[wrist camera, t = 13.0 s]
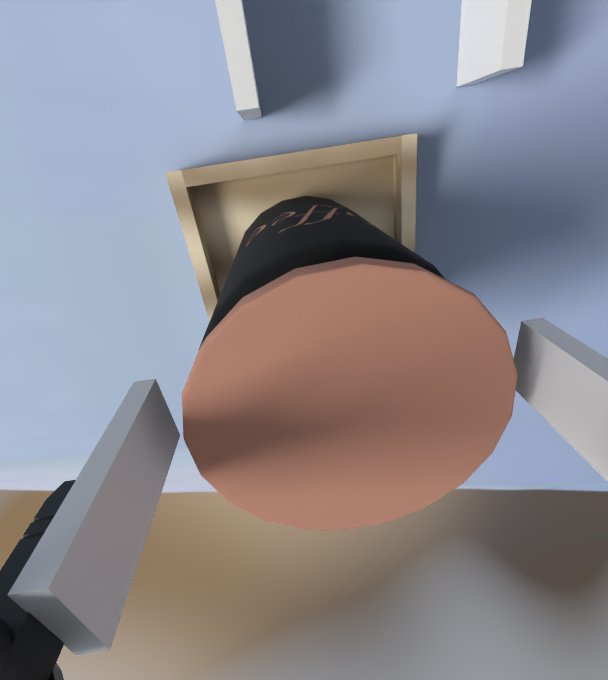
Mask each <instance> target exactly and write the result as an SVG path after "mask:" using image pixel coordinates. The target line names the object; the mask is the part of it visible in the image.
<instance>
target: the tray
mask: <svg viewBox="0 0 608 680" xmlns="http://www.w3.org/2000/svg"><path fill="white" fill-rule="evenodd" d="M165 173H166V177H167V180H168V183H169V187H170V190H171V193H172V197H173V200H174V204H175V207H176V210H177V214H178V217H179V220H180V224H181V227H182V230H183V234H184V237H185V240H186V244H187V247H188V250H189V254H190V257H191V261H192V264H193V267H194V271H195V274H196V277H197V281H198V284H199V287H200V291H201V294H202V297H203V301H204V304H205V307H206V311H207V314H208V317H209V321H210V320H211V317H212V314H213V312H214V309H215V307H216V304H217V302H218V299H219V297H220V294H221V292H222V289H223V287H224V284H225V281H226V279H227V276H228V274H229V271H230V269H231V266H232V264H233V261H234V259H235V256H236V254H237V251H238V248H239V246H240V243H241V241H242V238H243V236H244V233H245V231H246V230H247V229H248V228H249V226H250V225H251V224H252V223H253V222H254V221H255V219H256V218H257V217H258V216H259V215H260V214H261V213H262V212H264V211H265V210H267V209H269V208H270V207H272V206H274V205H275V204H277V203H279V202H281V201H283V200H288V199H293V198H297V197H302V196H312V197H319V198H326V199H331V200H333V201H335V202H337V203H339V204H341V205H343V206H344V207H346V208H348V209H350V210H352V211H353V212H355V213H356V214H358V215H359V216H361V217H362V218H364V219H365V220H367V221H368V222H370V223H371V224H373V225H374V226H376V227H377V228H379V229H380V230H382V231H383V232H384V233H386V234H387V235H389V236H390V237H392V238H393V239H395V240H396V241H398V242H399V243H401V244H402V245H404V246H405V247H407V248H408V249H410V250H411V251H413V252H414V253H415V231H416V178H417V133H415V134H408V135H402V136H396V137H389V138H383V139H376V140H370V141H364V142H357V143H351V144H344V145H338V146H332V147H325V148H319V149H312V150H306V151H300V152H293V153H287V154H280V155H274V156H268V157H261V158H255V159H248V160H242V161H236V162H229V163H223V164H216V165H210V166H204V167H197V168H191V169H184V170H178V171H172V172H165Z"/></svg>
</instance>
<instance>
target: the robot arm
mask: <svg viewBox="0 0 608 680" xmlns="http://www.w3.org/2000/svg"><path fill="white" fill-rule="evenodd" d="M514 363H515V367H516V371H517V375H518V376H517V383H516V391H517V392H518V393H519V394H520V395H521V396H522V397H523V398H524V399H525V400H526V401H527V402H528V403H529V404H530V405H531V406H532V407H533V408H534V409H535V410H536V411H537V412H538V413H539V414H540V415H541V416H542V417H543V418H544V419H545V420H546V421H547V422H548V423H549V424H550V425H551V426H552V427H553V428H554V429H555V430H556V431H557V432H558V433H559V434H560V435H561V436H562V437H563V438H564V439H565V440H566V441H567V442H568V443H569V444H570V445H571V446H572V447H573V448H574V449H575V450H576V451H577V452H578V453H579V454H580V455H581V456H582V457H583V458H584V459H585V460H586V461H587V462H588V463H589V464H590V465H591V466H592V467H593V468H594V469H595V470H596V471H597V472H598V473H599V474H600V475H601V476H602V477H603V478H604V479H605V480H606V481H607V482H608V359H607V358H606V357H604V356H602V355H601V354H599V353H598V352H596V351H594V350H593V349H591V348H590V347H588V346H586V345H585V344H583V343H582V342H580V341H578V340H577V339H575V338H574V337H572V336H571V335H569V334H567V333H566V332H564V331H563V330H561V329H559V328H558V327H556V326H555V325H553V324H551V323H550V322H548V321H547V320H545V319H543V318H540V319H533V320H527V321H521V326H520V331H519V336H518V341H517V346H516V351H515V356H514ZM179 437H180V434H179V432H178V429H177V427H176V425H175V422H174V420H173V418H172V415H171V413H170V411H169V408H168V406H167V404H166V402H165V399H164V397H163V395H162V392H161V390H160V388H159V385H158V383H157V381H156V379H151V380H145V381H139V382H134V384H133V385H132V387H131V389H130V390H129V392H128V394H127V395H126V397H125V399H124V400H123V402H122V404H121V405H120V407H119V409H118V410H117V412H116V414H115V415H114V417H113V419H112V420H111V422H110V424H109V425H108V427H107V429H106V430H105V432H104V434H103V435H102V437H101V439H100V441H99V442H98V444H97V446H96V447H95V449H94V451H93V452H92V454H91V456H90V457H89V459H88V461H87V462H86V464H85V466H84V467H83V469H82V471H81V472H80V474H79V476H78V477H77V479H76V480H71V481H65V482H64V483H63V484H62V485H60V486H59V487H58V488H57V489H56V490H55V491H54V492H53V493H52V494H51V495H50V496H49V497H48V498H47V499H46V501H45V502H44V504H43V506H42V507H41V509H40V510H39V512H38V513H37V515H36V516H35V518H34V522H32V523H31V524H30V525H29V527H28V529H27V530H26V532H25V533H24V537H23V539H21V540H20V541H19V542H18V544H17V546H16V547H15V549H14V550H13V552H12V553H11V555H10V556H9V558H8V559H7V561H6V563H5V564H4V566H3V567H2V569H1V570H0V680H64V679H63V675H62V671H61V669H60V668H59V666H58V665H57V663H56V662H57V659H58V657H59V654H60V652H61V650H62V647H63V645H65V646H66V647H67V648H68V649H69V650H71V651H72V652H73V653H74V654H75V655H82V654H88V653H95V652H101V651H107V650H110V648H111V645H112V641H113V639H114V636H115V633H116V630H117V627H118V624H119V620H120V617H121V614H122V611H123V608H124V605H125V602H126V599H127V596H128V593H129V590H130V587H131V584H132V580H133V577H134V574H135V571H136V568H137V565H138V562H139V559H140V556H141V553H142V550H143V547H144V544H145V541H146V538H147V535H148V532H149V529H150V525H151V522H152V519H153V516H154V513H155V510H156V507H157V504H158V501H159V498H160V495H161V492H162V489H163V486H164V483H165V480H166V477H167V473H168V470H169V467H170V464H171V461H172V458H173V455H174V452H175V449H176V446H177V443H178V440H179Z"/></svg>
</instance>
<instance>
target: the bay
mask: <svg viewBox="0 0 608 680" xmlns="http://www.w3.org/2000/svg"><path fill="white" fill-rule="evenodd" d="M215 2H216V7H217V12H218V17H219V22H220V28H221V33H222V38H223V43H224V48H225V53H226V59H227V64H228V69H229V74H230V79H231V85H232V90H233V95H234V100H235V105H236V110H237V112H238V113H239V115H240V116H241V117H242V118H243V120H248V119H255V118H261V117H262V115H261V109H260V103H259V97H258V91H257V84H256V78H255V72H254V66H253V60H252V54H251V48H250V42H249V36H248V30H247V24H246V18H245V12H244V6H243V0H215ZM531 2H532V0H462V5H461V21H460V37H459V54H458V70H457V86H456V87H460V86H466V85H473V84H476V83H479V82H482V81H485V80H487V79H490V78H493V77H495V76H498V75H501V74H504V73H506V72H509V71H512V70H514V69H517V68H520V67H523V61H524V54H525V46H526V39H527V32H528V24H529V17H530V9H531Z"/></svg>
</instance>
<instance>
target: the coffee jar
mask: <svg viewBox="0 0 608 680" xmlns="http://www.w3.org/2000/svg"><path fill="white" fill-rule="evenodd" d="M517 376H518V375H517V371H516V367H515V363H514V360H513V356H512V352H511V349H510V345H509V341H508V337H507V334H506V331H505V330H504V329H503V328H502V326H501V325H500V324H499V323H498V322H497V320H496V319H495V318H494V317H493V316H492V314H491V313H490V312H489V311H488V310H487V308H486V307H485V306H484V305H483V304H482V303H481V301H480V300H479V299H478V298H477V297H476V295H475V294H473V293H471V292H469V291H468V290H466V289H464V288H462V287H460V286H458V285H456V284H454V283H452V282H450V281H448V280H446V279H445V278H444V277H443V276H442V275H441V273H440V272H439V271H438V270H437V269H436V268H435V266H433V265H432V264H430V263H429V262H427V261H426V260H424V259H423V258H421V257H420V256H419V255H417V254H416V253H414V252H413V251H411V250H410V249H408V248H407V247H405V246H404V245H402V244H401V243H399V242H398V241H396V240H395V239H393V238H392V237H390V236H389V235H387V234H386V233H384V232H383V231H382V230H380V229H379V228H377V227H376V226H374V225H373V224H371V223H370V222H368V221H367V220H365V219H364V218H362V217H361V216H359V215H358V214H356V213H355V212H353V211H352V210H350V209H348V208H346V207H344V206H343V205H341V204H339V203H337V202H335V201H333V200H331V199H326V198H319V197H312V196H302V197H297V198H293V199H288V200H283V201H281V202H279V203H277V204H275V205H274V206H272V207H270V208H269V209H267V210H265V211H264V212H262V213H261V214H260V215H259V216H258V217H257V218H256V219H255V221H254V222H253V223H252V224H251V225H250V226H249V228H248V229H247V230H246V231H245V233H244V236H243V238H242V241H241V243H240V246H239V248H238V251H237V254H236V256H235V259H234V261H233V264H232V266H231V269H230V271H229V274H228V276H227V279H226V281H225V284H224V287H223V289H222V292H221V294H220V297H219V299H218V302H217V304H216V307H215V309H214V312H213V314H212V317H211V320H210V322H209V325H208V327H207V330H206V332H205V335H204V337H203V340H202V343H201V345H200V348H199V352H198V354H197V357H196V359H195V362H194V364H193V367H192V370H191V372H190V375H189V377H188V380H187V382H186V385H185V387H184V390H183V392H182V407H183V436H184V440H185V443H186V445H187V447H188V449H189V451H190V453H191V455H192V457H193V459H194V462H195V464H196V466H197V468H198V470H199V472H200V474H201V476H202V477H203V478H204V479H205V480H206V481H208V482H209V483H210V484H211V485H212V486H213V487H214V488H215V489H216V490H217V491H218V492H219V493H220V494H221V495H222V496H223V497H224V498H225V499H226V500H227V501H228V502H229V503H232V504H234V505H235V506H237V507H239V508H241V509H243V510H245V511H248V512H249V513H251V514H253V515H255V516H257V517H259V518H261V519H263V520H265V521H269V522H274V523H278V524H283V525H287V526H292V527H296V528H300V529H305V530H307V529H309V530H349V529H354V528H360V527H365V526H370V525H375V524H381V523H386V522H390V521H392V520H394V519H397V518H400V517H402V516H405V515H407V514H410V513H412V512H415V511H418V510H420V509H423V508H425V507H428V506H429V505H431V504H432V503H434V502H435V501H437V500H438V499H440V498H441V497H443V496H444V495H446V494H447V493H449V492H450V491H452V490H454V489H455V488H457V487H458V486H460V485H461V484H463V483H464V482H465V481H466V480H467V479H468V478H469V477H470V476H471V474H472V473H473V472H474V471H475V470H476V469H477V468H478V467H479V466H480V465H481V464H482V463H483V462H484V461H485V460H486V459H487V458H488V457H489V456H490V455H491V454H492V452H493V450H494V448H495V447H496V445H497V443H498V441H499V439H500V437H501V435H502V433H503V431H504V430H505V428H506V426H507V424H508V422H509V420H510V418H511V416H512V410H513V403H514V397H515V390H516V383H517Z"/></svg>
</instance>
